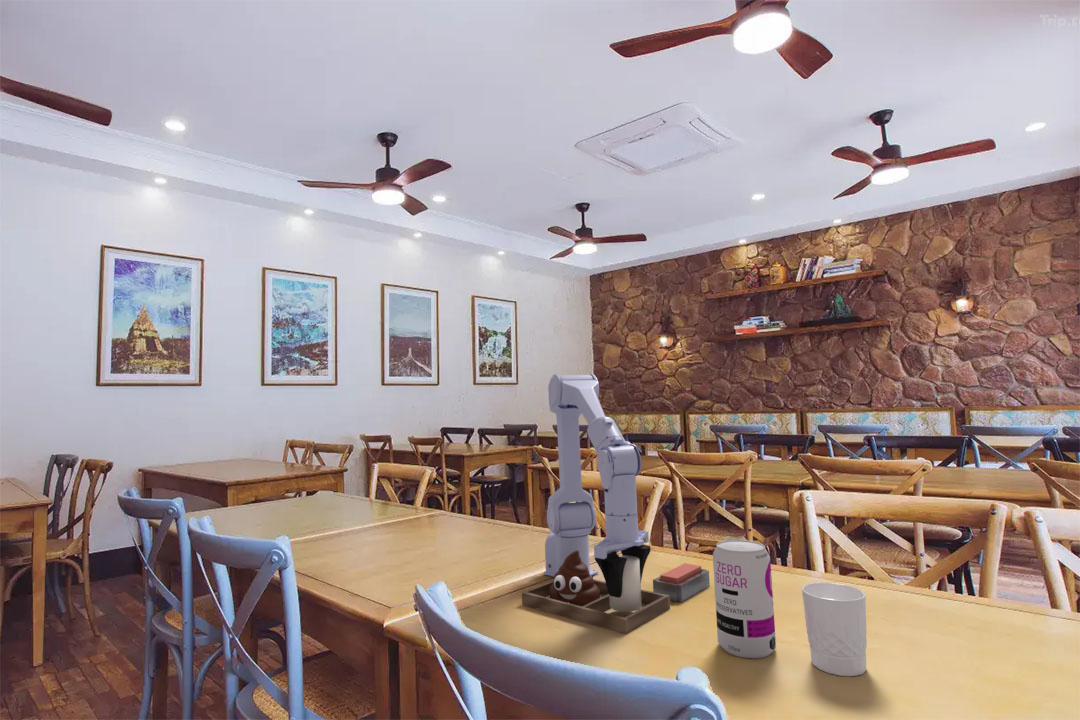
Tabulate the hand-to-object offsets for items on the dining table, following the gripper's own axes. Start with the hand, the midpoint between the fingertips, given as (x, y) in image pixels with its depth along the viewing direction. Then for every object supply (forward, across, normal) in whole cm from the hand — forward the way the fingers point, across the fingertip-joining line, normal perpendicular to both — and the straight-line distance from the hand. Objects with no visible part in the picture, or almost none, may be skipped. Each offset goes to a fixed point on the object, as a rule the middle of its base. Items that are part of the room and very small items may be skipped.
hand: (624, 591), depth 100 cm
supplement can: (+4, -1, -22) cm, 22 cm away
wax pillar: (+2, 0, 0) cm, 2 cm away
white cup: (+4, +1, -34) cm, 34 cm away
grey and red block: (+4, +17, -2) cm, 18 cm away
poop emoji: (+4, +1, +12) cm, 13 cm away
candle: (+4, +25, -10) cm, 27 cm away
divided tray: (+4, 0, +7) cm, 8 cm away
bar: (+3, +17, -2) cm, 17 cm away
